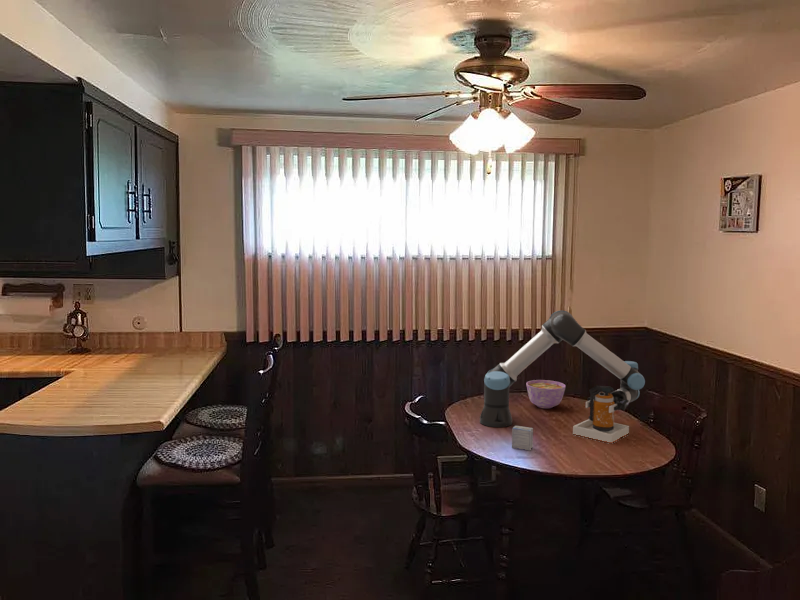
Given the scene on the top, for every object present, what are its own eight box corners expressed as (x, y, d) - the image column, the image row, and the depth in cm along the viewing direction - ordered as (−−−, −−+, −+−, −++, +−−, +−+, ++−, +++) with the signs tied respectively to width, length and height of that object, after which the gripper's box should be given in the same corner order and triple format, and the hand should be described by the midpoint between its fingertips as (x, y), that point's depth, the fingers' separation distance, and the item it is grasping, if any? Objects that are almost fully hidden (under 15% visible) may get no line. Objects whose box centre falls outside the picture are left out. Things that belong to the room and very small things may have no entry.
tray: (611, 444, 284) (611, 435, 283) (572, 434, 296) (573, 426, 295) (628, 434, 297) (629, 425, 297) (591, 426, 309) (591, 417, 309)
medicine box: (532, 447, 278) (533, 427, 277) (530, 451, 274) (530, 430, 273) (514, 445, 281) (515, 425, 280) (511, 448, 277) (512, 428, 276)
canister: (614, 433, 291) (616, 388, 288) (588, 431, 293) (589, 387, 291) (612, 427, 299) (614, 383, 297) (587, 425, 302) (588, 382, 299)
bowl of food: (518, 407, 340) (519, 385, 338) (534, 399, 356) (535, 378, 355) (556, 414, 328) (557, 391, 327) (570, 405, 345) (571, 383, 343)
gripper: (643, 410, 301) (622, 420, 285) (596, 401, 316) (573, 410, 300) (643, 394, 300) (623, 403, 284) (596, 385, 315) (574, 394, 299)
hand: (597, 407), depth 292 cm, fingers open, 10 cm apart
